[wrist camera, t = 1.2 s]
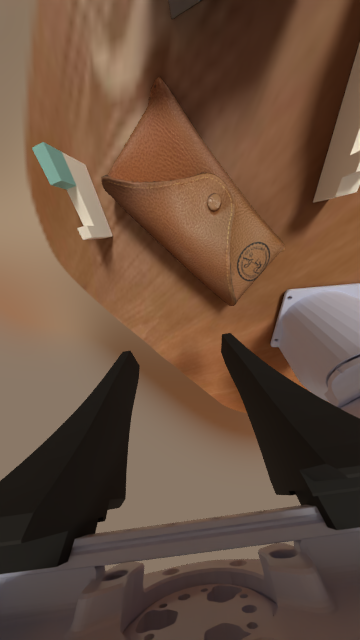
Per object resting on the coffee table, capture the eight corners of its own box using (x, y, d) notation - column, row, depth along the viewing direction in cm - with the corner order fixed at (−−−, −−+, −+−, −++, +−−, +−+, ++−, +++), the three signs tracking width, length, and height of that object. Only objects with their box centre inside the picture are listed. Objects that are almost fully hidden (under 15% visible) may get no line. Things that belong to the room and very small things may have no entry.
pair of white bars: (329, 199, 11) (379, 186, 8) (108, 247, 17) (84, 251, 13) (452, -162, 5) (852, -801, 2) (46, 99, 11) (-23, 42, 8)
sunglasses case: (294, 246, 13) (288, 290, 10) (238, 279, 19) (224, 313, 17) (152, 61, 9) (75, 52, 6) (137, 179, 15) (96, 201, 12)
